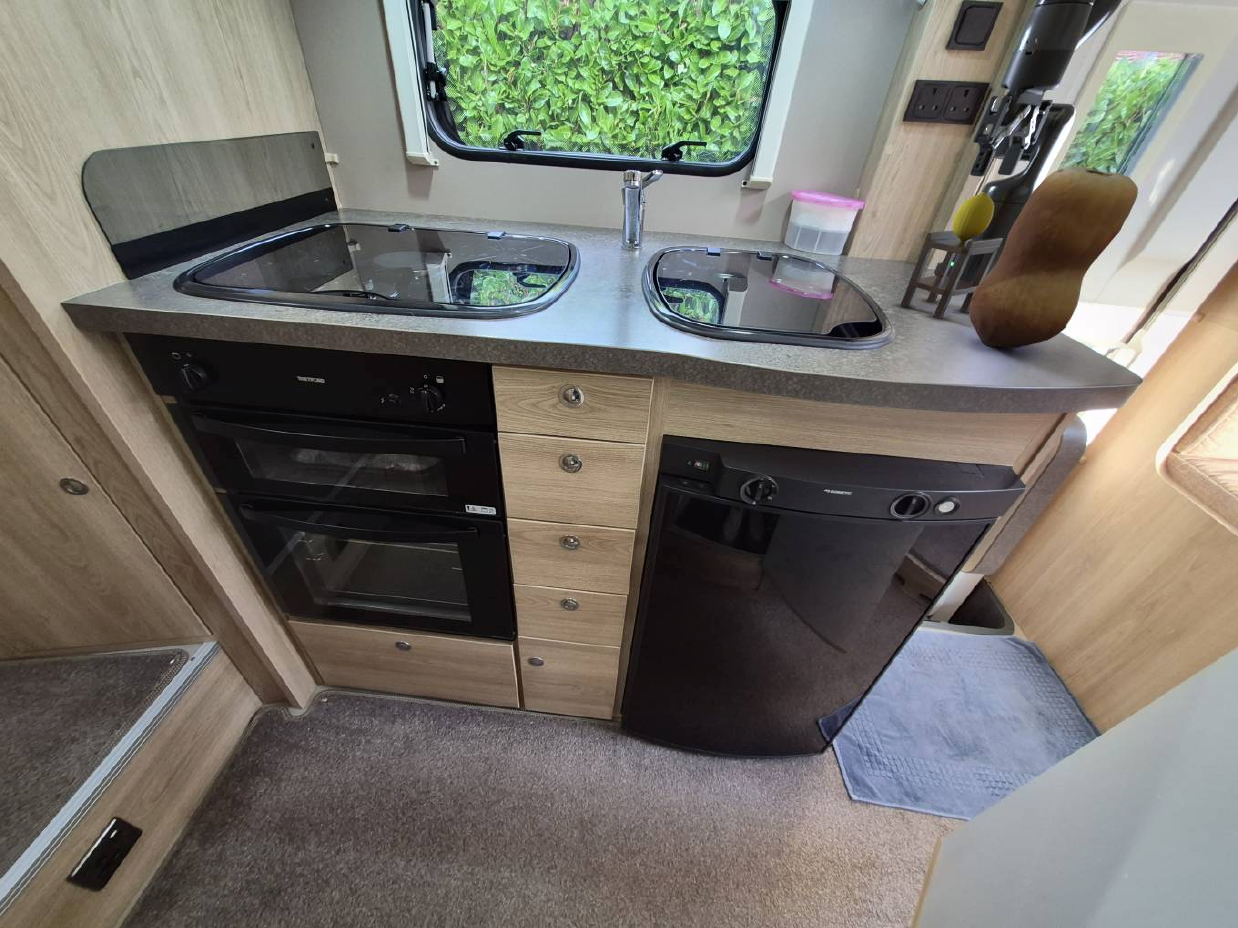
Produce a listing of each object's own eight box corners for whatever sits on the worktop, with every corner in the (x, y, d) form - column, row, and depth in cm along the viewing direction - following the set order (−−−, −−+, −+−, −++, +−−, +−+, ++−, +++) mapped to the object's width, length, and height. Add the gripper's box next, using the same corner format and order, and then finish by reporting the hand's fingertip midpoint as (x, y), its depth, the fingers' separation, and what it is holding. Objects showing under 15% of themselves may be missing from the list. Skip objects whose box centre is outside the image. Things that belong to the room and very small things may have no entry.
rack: (899, 306, 96) (927, 232, 88) (929, 300, 100) (959, 229, 92) (938, 319, 90) (972, 242, 82) (968, 312, 94) (1003, 238, 87)
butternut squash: (1050, 369, 73) (1167, 176, 58) (950, 346, 79) (1033, 165, 64) (1045, 342, 83) (1145, 170, 68) (956, 323, 88) (1030, 161, 74)
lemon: (941, 241, 88) (961, 191, 83) (950, 238, 91) (970, 189, 86) (975, 247, 85) (998, 195, 80) (983, 243, 88) (1006, 193, 83)
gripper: (1040, 54, 78) (990, 172, 87) (992, 46, 72) (944, 173, 81) (1095, 52, 73) (1036, 177, 82) (1048, 42, 67) (990, 179, 76)
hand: (990, 175), depth 82 cm, fingers open, 8 cm apart
